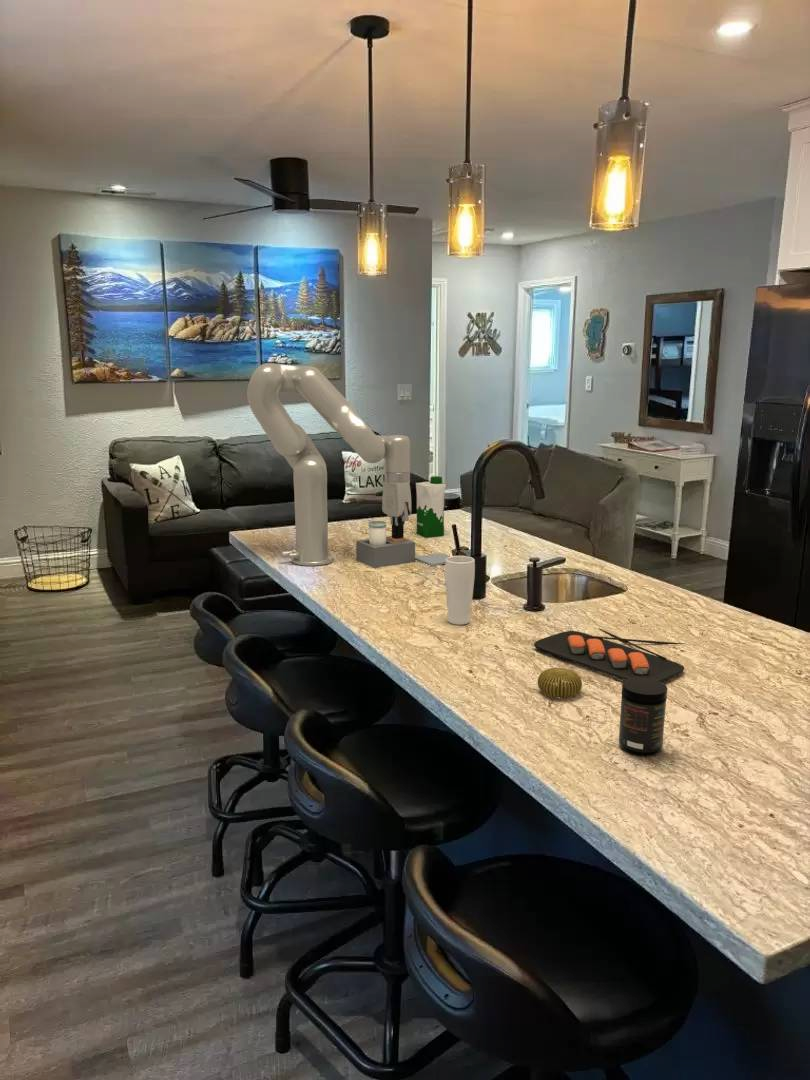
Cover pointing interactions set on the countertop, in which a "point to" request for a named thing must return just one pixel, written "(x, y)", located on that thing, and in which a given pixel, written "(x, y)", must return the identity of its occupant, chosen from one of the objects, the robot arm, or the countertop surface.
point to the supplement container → (642, 716)
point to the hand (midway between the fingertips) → (397, 537)
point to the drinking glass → (459, 588)
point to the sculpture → (559, 683)
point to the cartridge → (377, 533)
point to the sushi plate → (610, 655)
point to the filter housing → (385, 553)
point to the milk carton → (430, 507)
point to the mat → (433, 559)
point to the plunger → (396, 539)
